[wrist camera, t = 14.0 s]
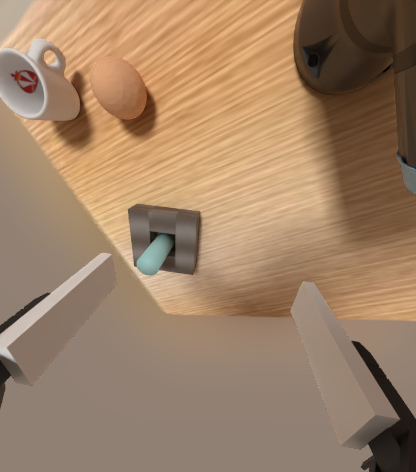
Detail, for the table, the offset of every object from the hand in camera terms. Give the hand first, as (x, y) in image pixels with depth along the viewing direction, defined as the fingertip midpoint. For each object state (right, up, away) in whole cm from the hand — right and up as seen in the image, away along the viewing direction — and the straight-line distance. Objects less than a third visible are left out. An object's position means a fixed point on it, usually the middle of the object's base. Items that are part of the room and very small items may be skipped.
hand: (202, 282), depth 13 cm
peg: (-9, +3, +29) cm, 31 cm away
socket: (-9, +3, +29) cm, 31 cm away
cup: (-24, +29, +19) cm, 42 cm away
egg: (-12, +27, +18) cm, 35 cm away
